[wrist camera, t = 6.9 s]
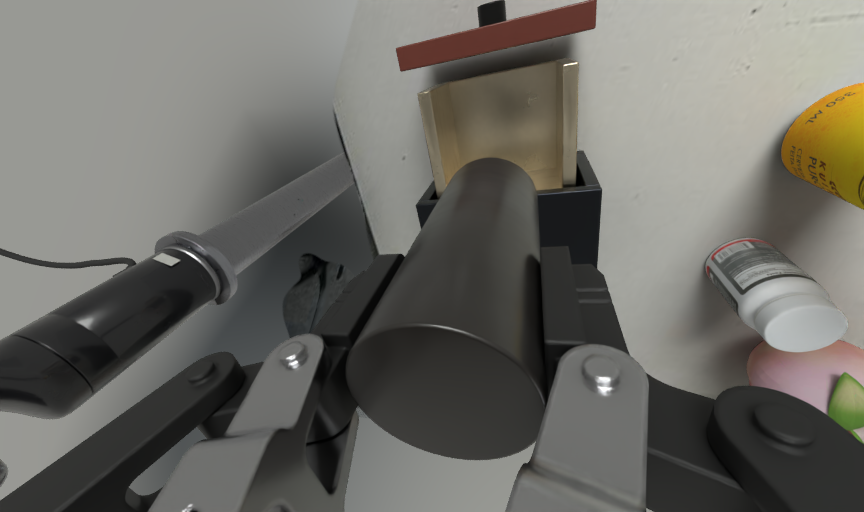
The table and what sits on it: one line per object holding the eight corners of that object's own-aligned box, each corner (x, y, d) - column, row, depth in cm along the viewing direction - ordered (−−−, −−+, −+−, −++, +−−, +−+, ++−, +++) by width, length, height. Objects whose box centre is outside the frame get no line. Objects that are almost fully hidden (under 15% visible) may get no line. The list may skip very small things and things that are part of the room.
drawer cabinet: (442, 167, 30) (415, 205, 23) (583, 150, 26) (602, 188, 19) (461, 273, 36) (444, 330, 28) (579, 271, 32) (593, 336, 25)
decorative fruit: (842, 369, 31) (955, 488, 22) (731, 381, 34) (794, 487, 26) (841, 292, 27) (974, 399, 19) (717, 314, 31) (785, 411, 23)
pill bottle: (759, 286, 29) (830, 363, 22) (695, 281, 30) (744, 352, 23) (787, 238, 26) (878, 307, 19) (716, 233, 27) (778, 297, 20)
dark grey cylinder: (453, 244, 16) (375, 448, 8) (438, 163, 14) (315, 322, 6) (539, 240, 15) (551, 474, 7) (535, 150, 13) (545, 327, 5)
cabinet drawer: (423, 27, 24) (389, 22, 18) (580, -14, 21) (598, -35, 15) (449, 183, 30) (430, 216, 24) (576, 170, 26) (588, 204, 21)
